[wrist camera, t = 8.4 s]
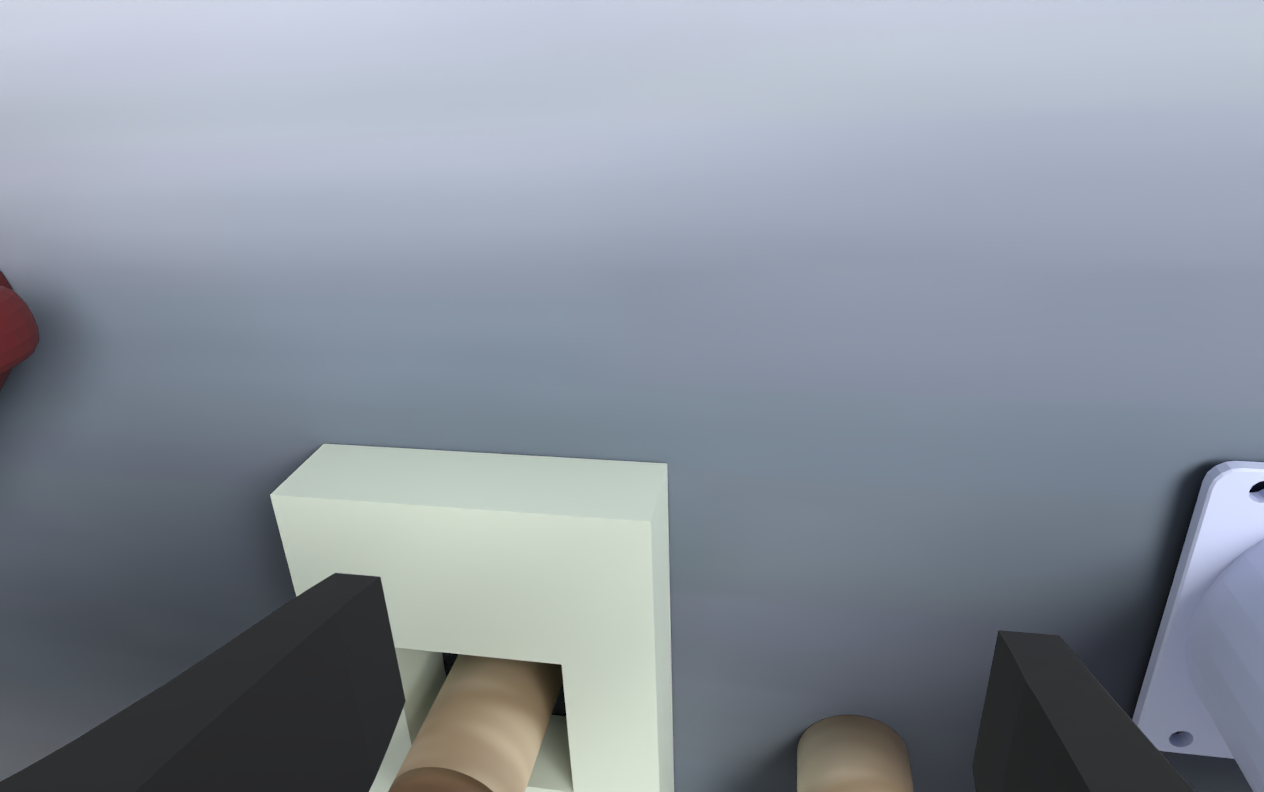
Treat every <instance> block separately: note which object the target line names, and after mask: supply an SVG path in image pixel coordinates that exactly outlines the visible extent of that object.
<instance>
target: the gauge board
mask: <svg viewBox="0 0 1264 792" xmlns="http://www.w3.org/2000/svg"><path fill="white" fill-rule="evenodd" d="M270 497H271V501H272V504H273V508H274V512H275V516H276V520H277V524H278V528H279V531H280V535H281V539H282V543H283V547H284V551H285V555H286V559H287V562H288V566H289V570H290V574H291V578H292V582H293V586H294V589H295V593H296V597H297V596H299V595H300V594H302V593H303V592H305V591H306V590H308V589H309V588H311V587H313V586H314V585H316V584H317V583H319V582H321V581H322V580H324V579H326V578H327V577H329V576H331V575H332V574H334V573H344V574H355V575H367V576H378V577H381V582H382V587H383V592H384V597H385V602H386V606H387V611H388V616H389V621H390V626H391V631H392V636H393V641H394V646H395V651H396V656H397V661H398V666H399V671H400V676H401V680H402V685H403V690H404V695H405V700H406V702H405V704H404V707H403V710H402V712H401V715H400V718H399V720H398V723H397V726H396V728H395V731H394V734H393V736H392V739H391V742H390V744H389V747H388V749H387V752H386V754H385V756H384V759H383V761H382V764H381V766H380V768H379V771H378V773H377V776H376V778H375V780H374V782H373V784H372V786H371V788H370V790H369V792H388V791H389V789H390V787H391V785H392V783H393V781H394V779H395V777H396V775H397V773H398V771H399V769H400V767H401V765H402V764H403V762H404V760H405V758H406V756H407V754H408V752H409V750H410V748H411V746H412V744H413V742H414V740H415V738H416V736H417V734H418V732H419V730H420V728H421V727H422V725H423V723H424V721H425V719H426V717H427V715H428V713H429V711H430V709H431V707H432V705H433V703H434V701H435V699H436V697H437V695H438V693H439V691H440V690H441V688H442V686H443V684H444V682H445V680H446V673H445V668H444V662H443V656H442V652H444V653H454V654H463V655H473V656H483V657H493V658H503V659H512V660H522V661H532V662H542V663H551V664H561V665H562V675H563V686H564V696H565V707H566V716H558V715H551V718H550V721H549V724H548V727H547V729H546V732H545V735H544V738H543V741H542V744H541V747H540V750H539V753H538V756H537V759H536V761H535V764H534V767H533V770H532V773H531V776H530V779H529V782H528V785H527V788H526V791H525V792H674V763H673V716H672V669H671V622H670V574H669V527H668V480H667V464H666V463H649V462H632V461H615V460H597V459H580V458H563V457H546V456H528V455H511V454H494V453H476V452H459V451H442V450H425V449H407V448H390V447H373V446H356V445H338V444H323V445H322V446H321V447H320V448H319V449H318V450H317V451H316V452H315V453H313V454H312V455H311V456H310V457H309V458H308V459H307V460H306V461H305V462H304V463H303V464H302V465H301V466H300V467H299V468H298V469H297V470H296V471H295V472H293V473H292V474H291V475H290V476H289V477H288V478H287V479H286V480H285V481H284V482H283V483H282V484H281V485H280V486H279V487H278V488H277V489H276V490H275V491H273V492H272V493H271V494H270Z"/></svg>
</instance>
